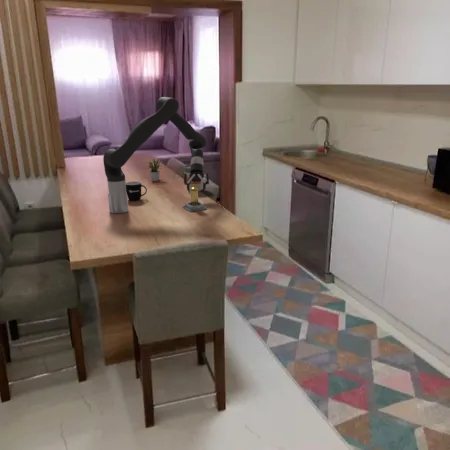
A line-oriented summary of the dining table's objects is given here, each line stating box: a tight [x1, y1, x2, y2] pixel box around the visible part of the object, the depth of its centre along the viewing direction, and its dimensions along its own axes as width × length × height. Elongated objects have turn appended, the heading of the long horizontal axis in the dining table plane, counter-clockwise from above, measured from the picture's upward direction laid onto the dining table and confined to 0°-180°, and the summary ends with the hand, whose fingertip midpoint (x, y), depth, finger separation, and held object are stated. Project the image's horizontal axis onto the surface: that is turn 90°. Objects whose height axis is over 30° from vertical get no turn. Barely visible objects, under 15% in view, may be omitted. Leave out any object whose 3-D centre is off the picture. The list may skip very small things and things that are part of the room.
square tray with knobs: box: [182, 200, 208, 213], centre depth 237 cm, size 10×10×3 cm
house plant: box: [145, 157, 163, 182], centre depth 303 cm, size 14×14×16 cm
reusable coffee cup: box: [183, 164, 205, 192], centre depth 275 cm, size 13×13×15 cm
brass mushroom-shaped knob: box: [189, 187, 199, 206], centre depth 236 cm, size 5×5×11 cm
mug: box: [126, 180, 148, 202], centre depth 256 cm, size 12×9×10 cm
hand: (196, 190), depth 246 cm, fingers open, 8 cm apart
